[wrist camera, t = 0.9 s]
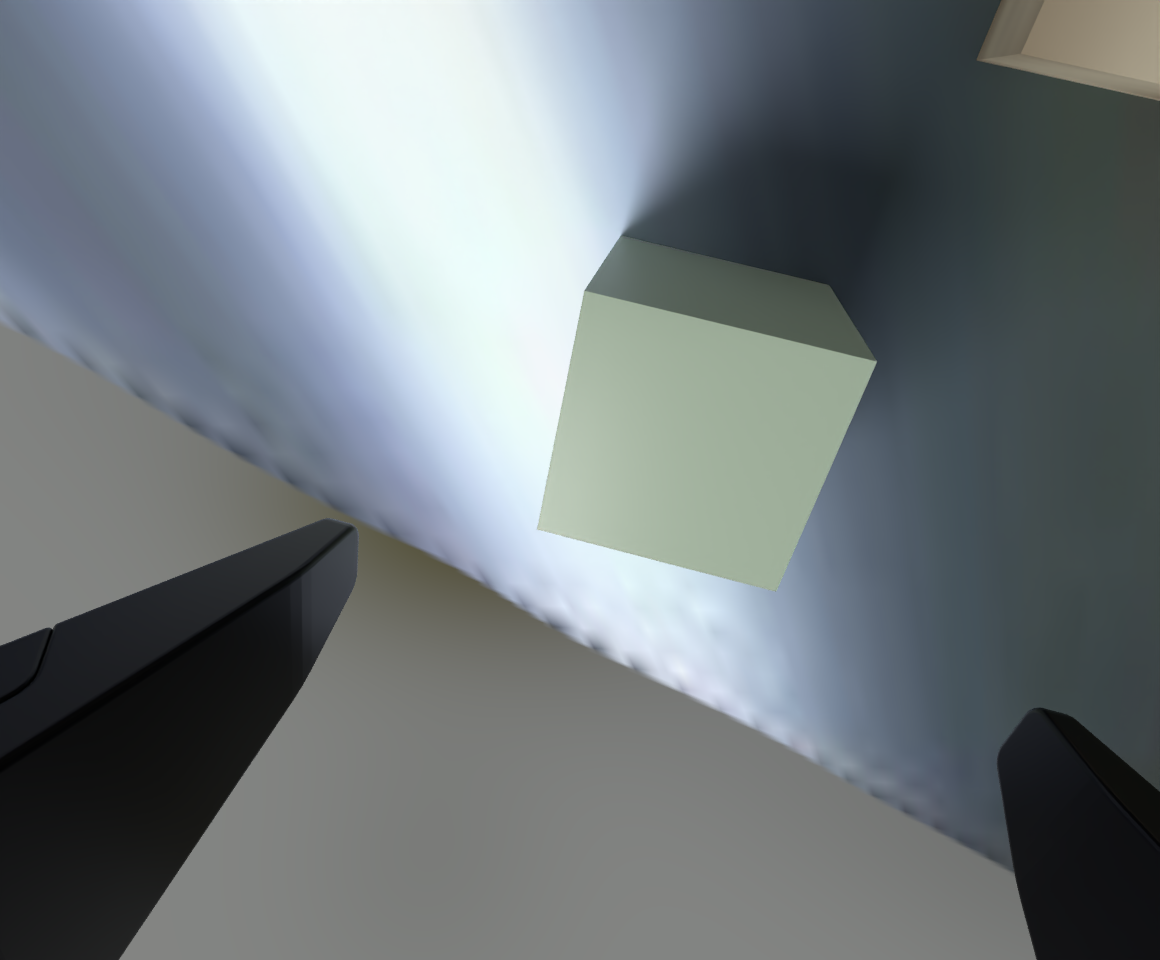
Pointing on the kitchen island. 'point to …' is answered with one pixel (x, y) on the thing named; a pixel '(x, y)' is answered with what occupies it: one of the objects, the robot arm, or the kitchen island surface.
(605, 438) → the sage brick
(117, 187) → the kitchen island surface
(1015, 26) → the birch base brick
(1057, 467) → the kitchen island surface
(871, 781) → the kitchen island surface
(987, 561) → the kitchen island surface
